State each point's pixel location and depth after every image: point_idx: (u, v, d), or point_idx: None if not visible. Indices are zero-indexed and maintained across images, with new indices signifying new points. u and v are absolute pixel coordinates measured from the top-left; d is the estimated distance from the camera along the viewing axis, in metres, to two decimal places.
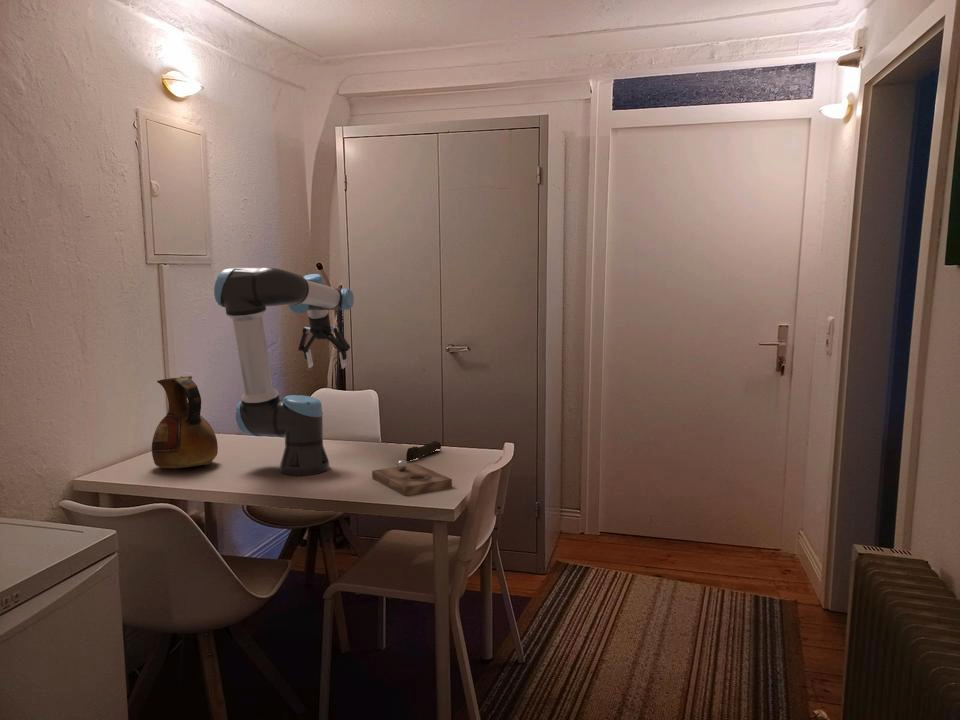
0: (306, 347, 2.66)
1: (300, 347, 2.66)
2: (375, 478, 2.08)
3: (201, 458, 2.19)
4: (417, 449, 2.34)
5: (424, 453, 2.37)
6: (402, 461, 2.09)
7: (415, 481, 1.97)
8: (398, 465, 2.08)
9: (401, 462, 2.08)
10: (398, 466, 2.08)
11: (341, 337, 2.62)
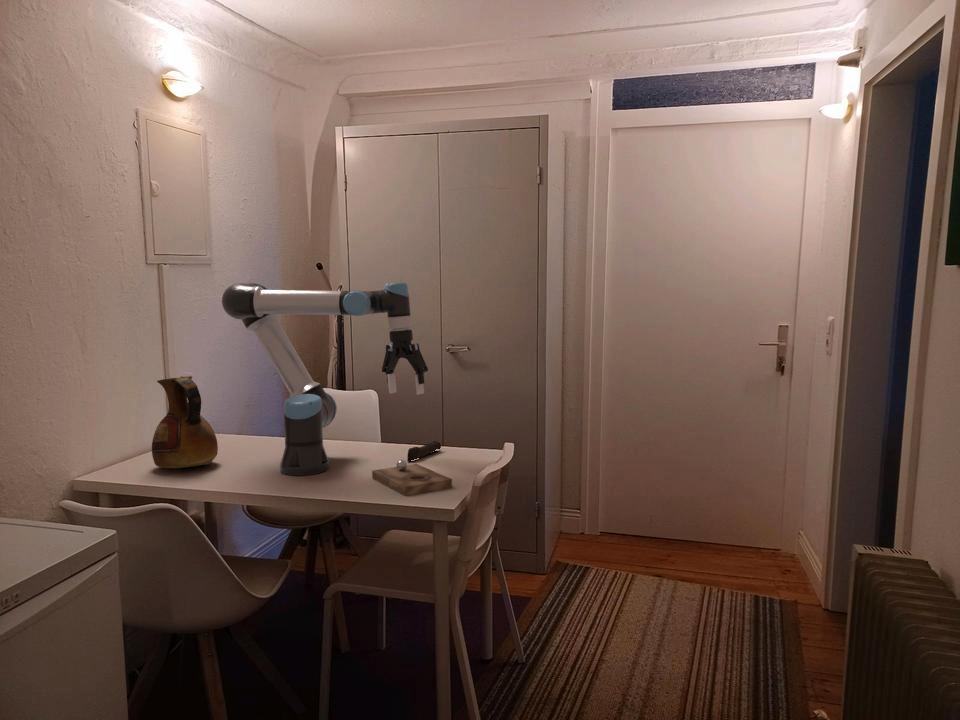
0: (388, 368, 2.33)
1: (383, 368, 2.35)
2: (375, 478, 2.08)
3: (201, 458, 2.19)
4: (418, 449, 2.33)
5: (425, 453, 2.37)
6: (402, 461, 2.09)
7: (415, 481, 1.97)
8: (398, 465, 2.08)
9: (401, 462, 2.08)
10: (398, 466, 2.08)
11: (418, 356, 2.24)
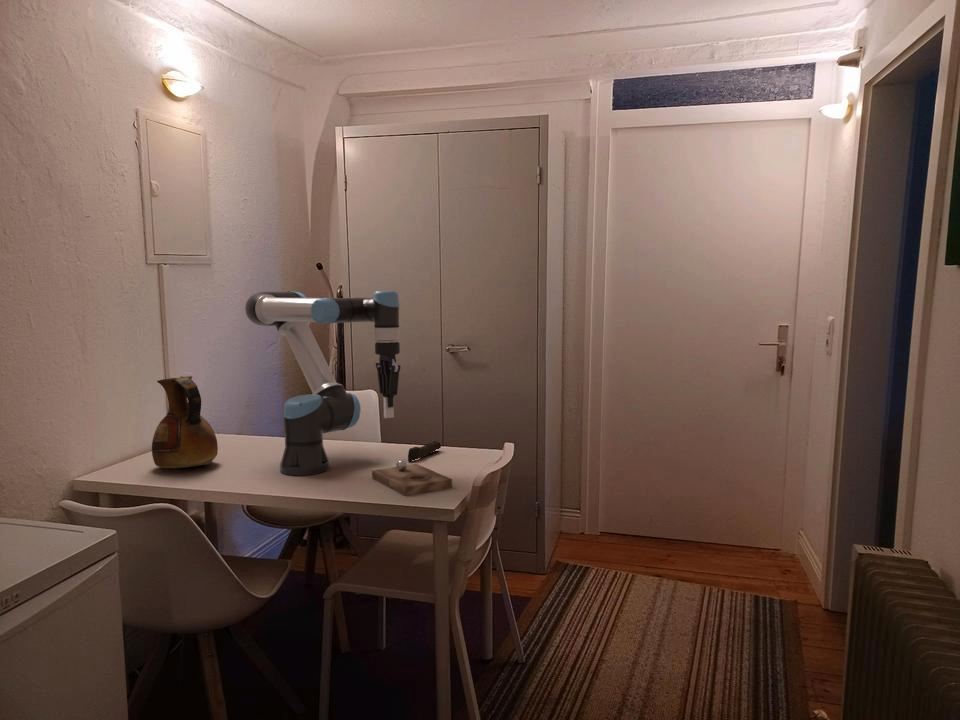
0: (382, 388, 2.15)
1: (380, 388, 2.17)
2: (375, 478, 2.08)
3: (201, 458, 2.19)
4: (418, 449, 2.33)
5: (425, 453, 2.37)
6: (402, 461, 2.09)
7: (415, 481, 1.97)
8: (398, 465, 2.08)
9: (401, 462, 2.08)
10: (398, 466, 2.08)
11: (393, 379, 2.10)
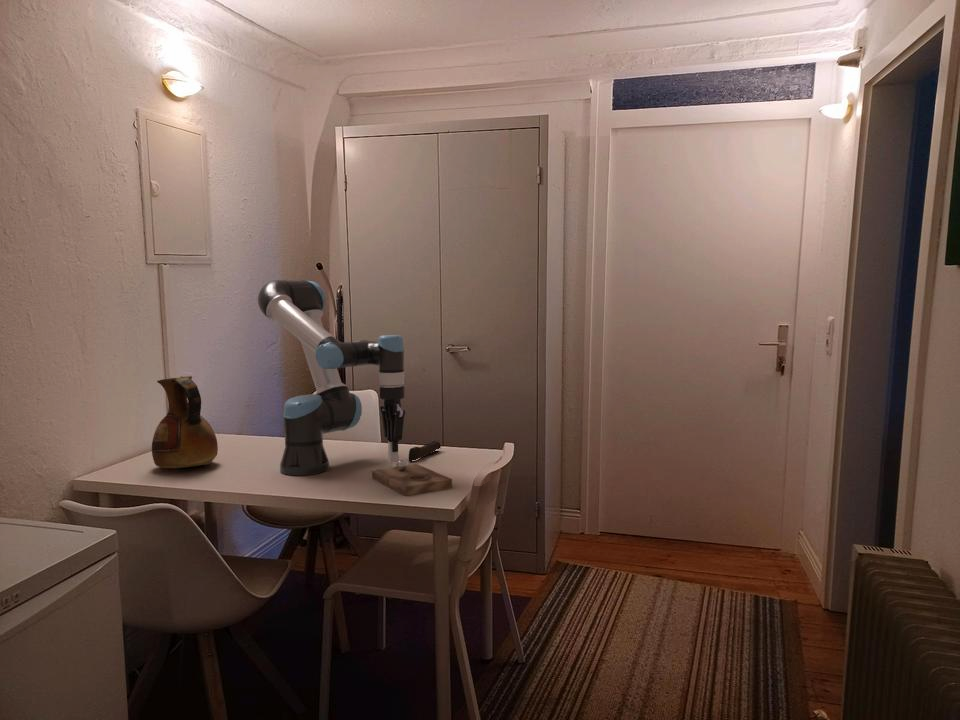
0: (387, 432, 2.14)
1: (384, 432, 2.16)
2: (375, 478, 2.08)
3: (201, 458, 2.19)
4: (419, 449, 2.33)
5: (425, 453, 2.37)
6: (402, 461, 2.09)
7: (415, 481, 1.97)
8: (398, 465, 2.08)
9: (401, 462, 2.08)
10: (398, 466, 2.08)
11: (398, 424, 2.09)
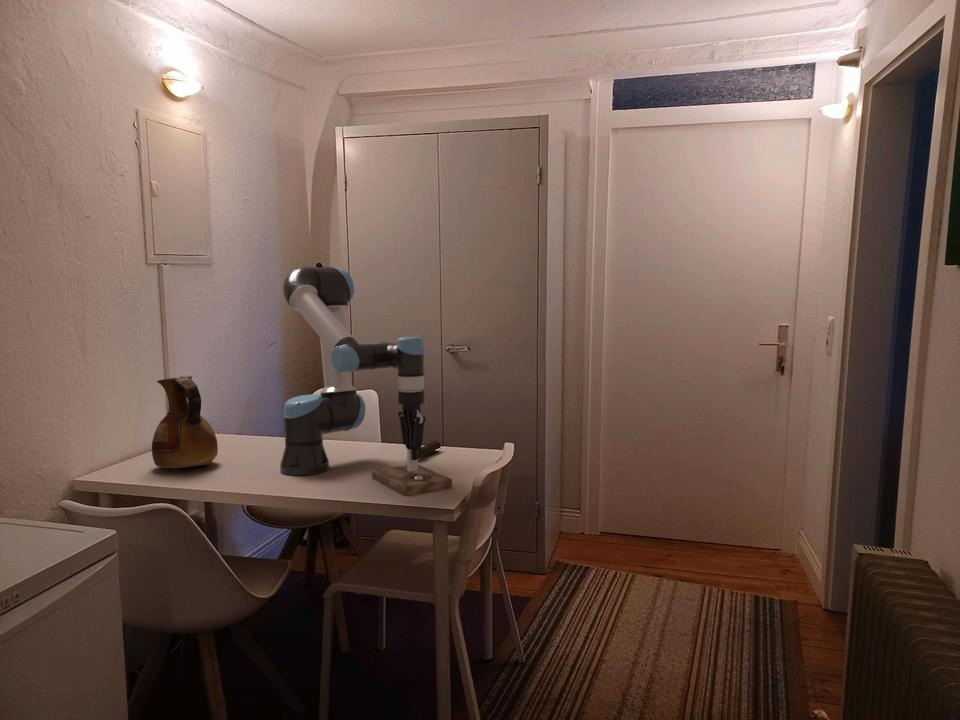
0: (406, 439, 2.03)
1: (403, 439, 2.05)
2: (375, 478, 2.08)
3: (201, 458, 2.19)
4: (420, 449, 2.33)
5: (426, 453, 2.37)
6: None
7: (415, 481, 1.97)
8: None
9: None
10: None
11: (418, 431, 1.98)
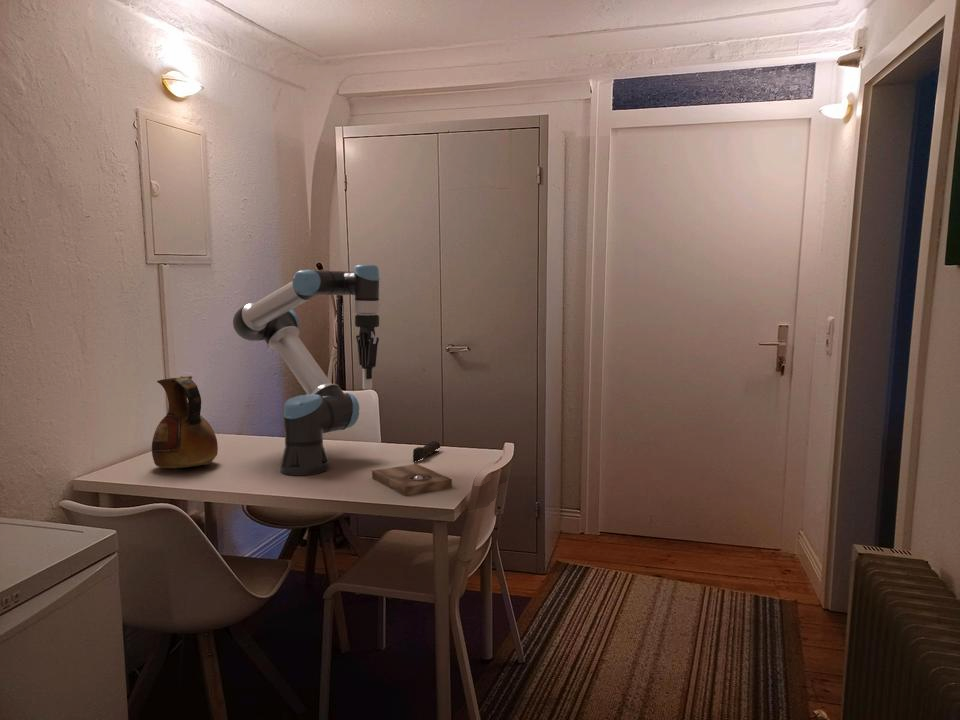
0: (362, 360, 2.20)
1: (359, 360, 2.22)
2: (375, 478, 2.08)
3: (201, 458, 2.19)
4: (422, 449, 2.33)
5: (427, 453, 2.37)
6: None
7: (415, 481, 1.97)
8: None
9: None
10: None
11: (372, 351, 2.15)
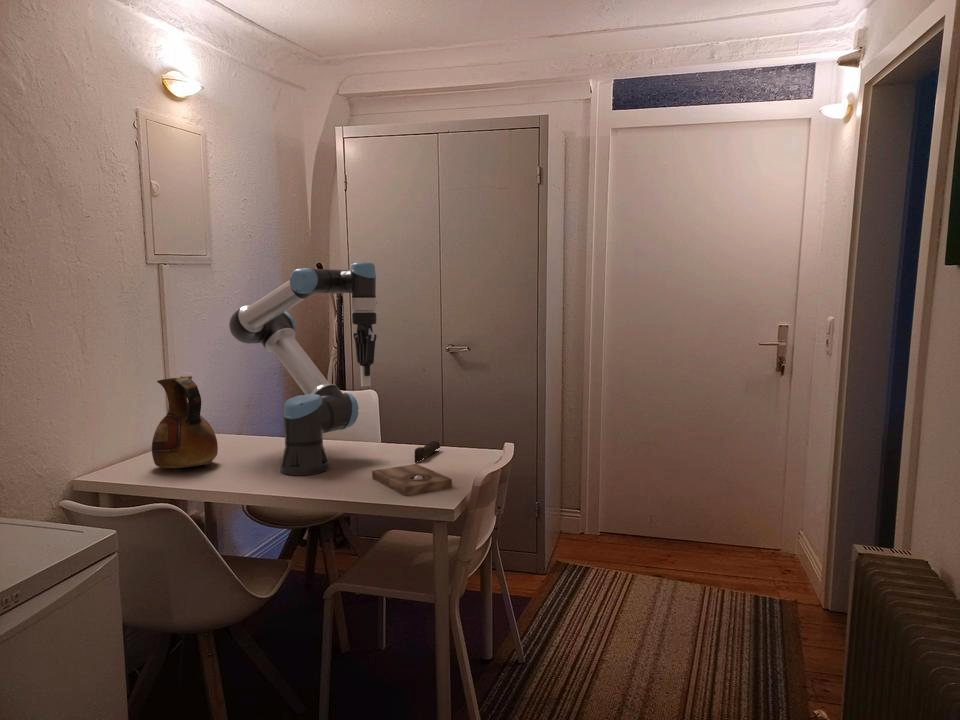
0: (360, 357, 2.21)
1: (357, 358, 2.23)
2: (375, 478, 2.08)
3: (201, 458, 2.19)
4: (423, 449, 2.33)
5: (428, 453, 2.37)
6: None
7: (415, 481, 1.97)
8: None
9: None
10: None
11: (370, 348, 2.16)
